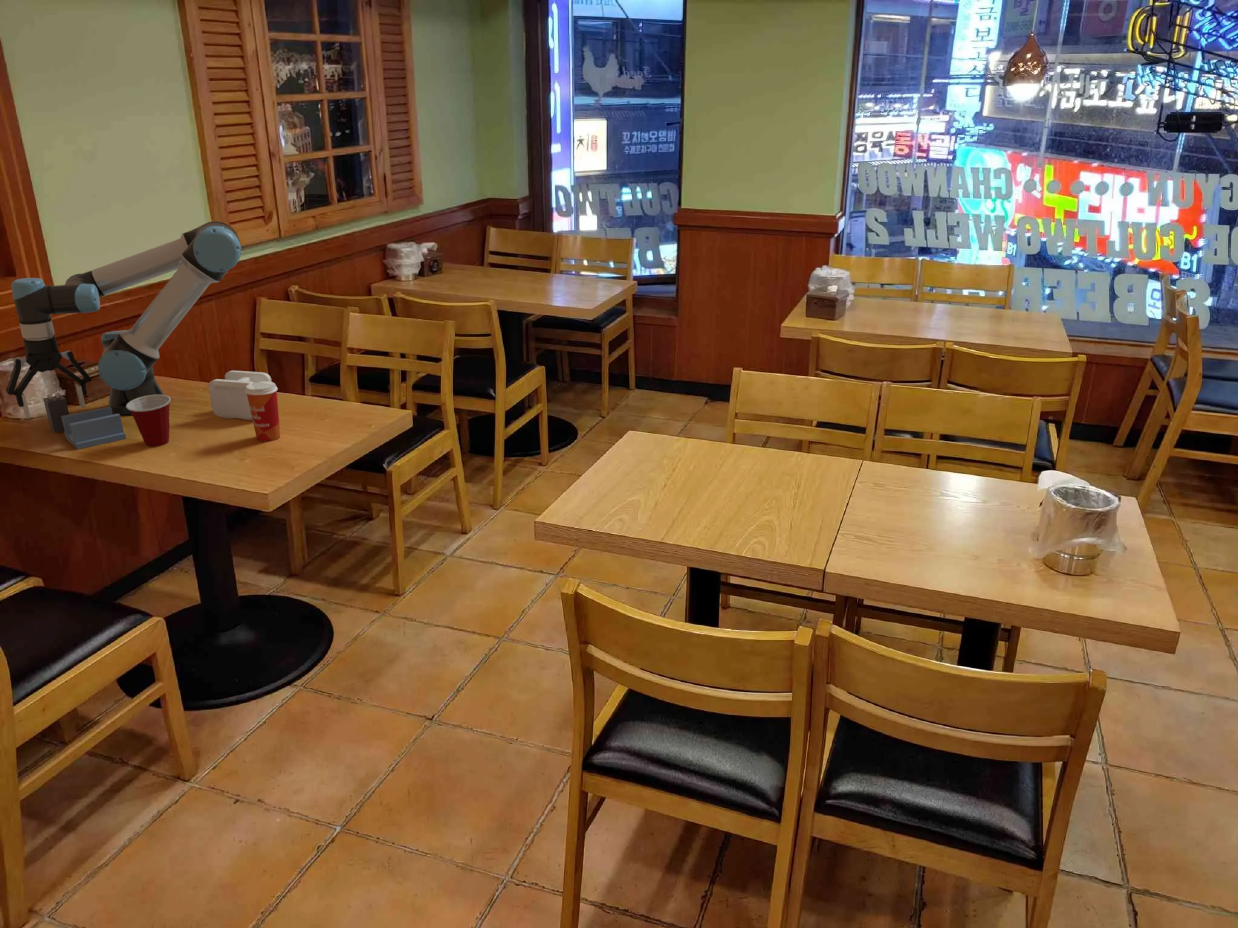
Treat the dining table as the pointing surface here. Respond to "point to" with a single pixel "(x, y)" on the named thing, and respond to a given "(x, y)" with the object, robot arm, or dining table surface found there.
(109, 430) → the holder
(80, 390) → the robot arm
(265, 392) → the coffee cup
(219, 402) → the cable organizer
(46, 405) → the plug
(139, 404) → the plastic cup
